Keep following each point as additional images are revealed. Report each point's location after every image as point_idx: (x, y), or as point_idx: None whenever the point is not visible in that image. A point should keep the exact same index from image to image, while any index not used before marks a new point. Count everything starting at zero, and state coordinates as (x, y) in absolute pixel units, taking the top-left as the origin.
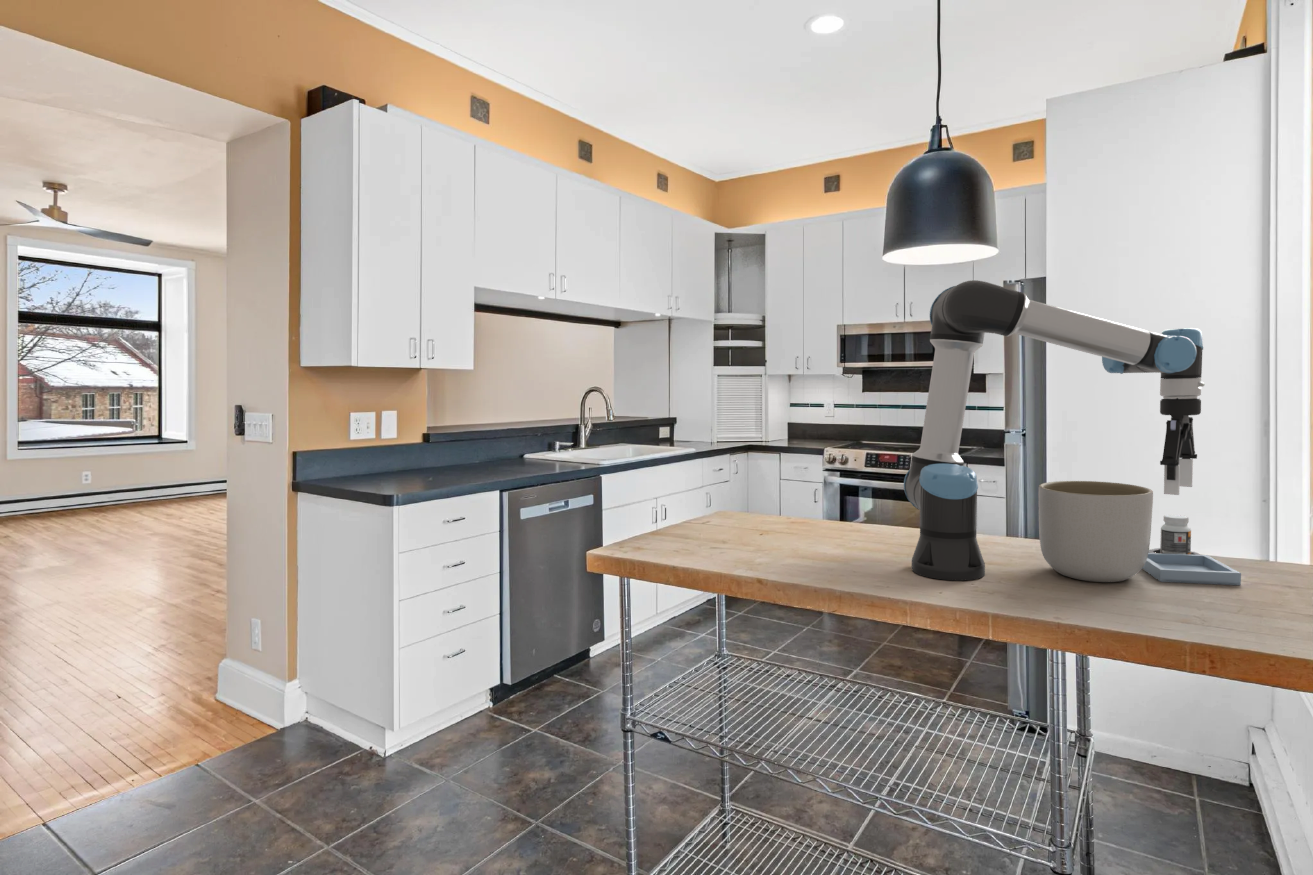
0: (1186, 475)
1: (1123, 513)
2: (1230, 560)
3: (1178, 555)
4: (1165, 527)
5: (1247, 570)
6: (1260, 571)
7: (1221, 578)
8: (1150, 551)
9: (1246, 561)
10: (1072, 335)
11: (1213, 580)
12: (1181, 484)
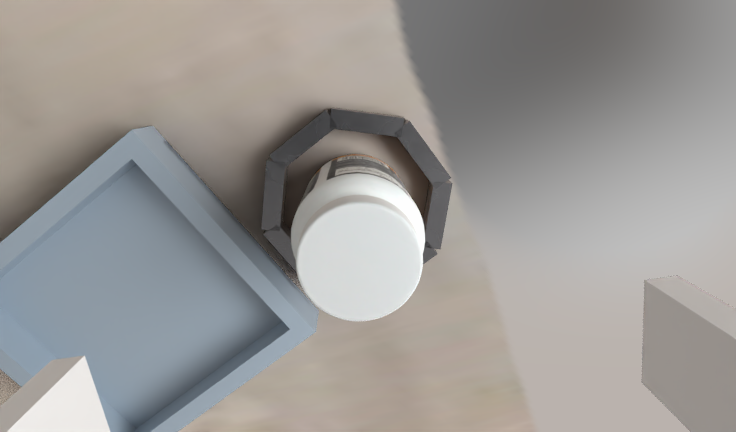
0: (729, 425)
1: None
2: (471, 331)
3: (232, 264)
4: (300, 214)
5: (356, 401)
6: (372, 426)
7: None
8: (321, 125)
9: (491, 366)
10: None
11: None
12: (656, 319)
